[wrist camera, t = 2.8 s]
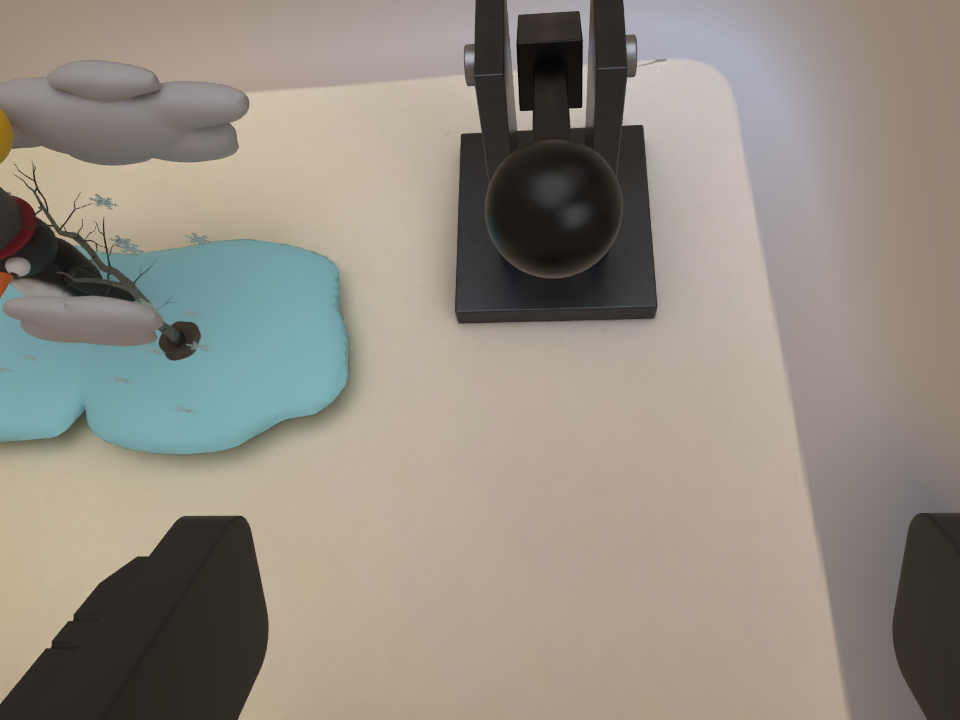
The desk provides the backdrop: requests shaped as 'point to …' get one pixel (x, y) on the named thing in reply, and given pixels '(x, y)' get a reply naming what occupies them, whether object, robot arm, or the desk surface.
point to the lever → (552, 163)
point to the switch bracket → (611, 59)
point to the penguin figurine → (152, 286)
